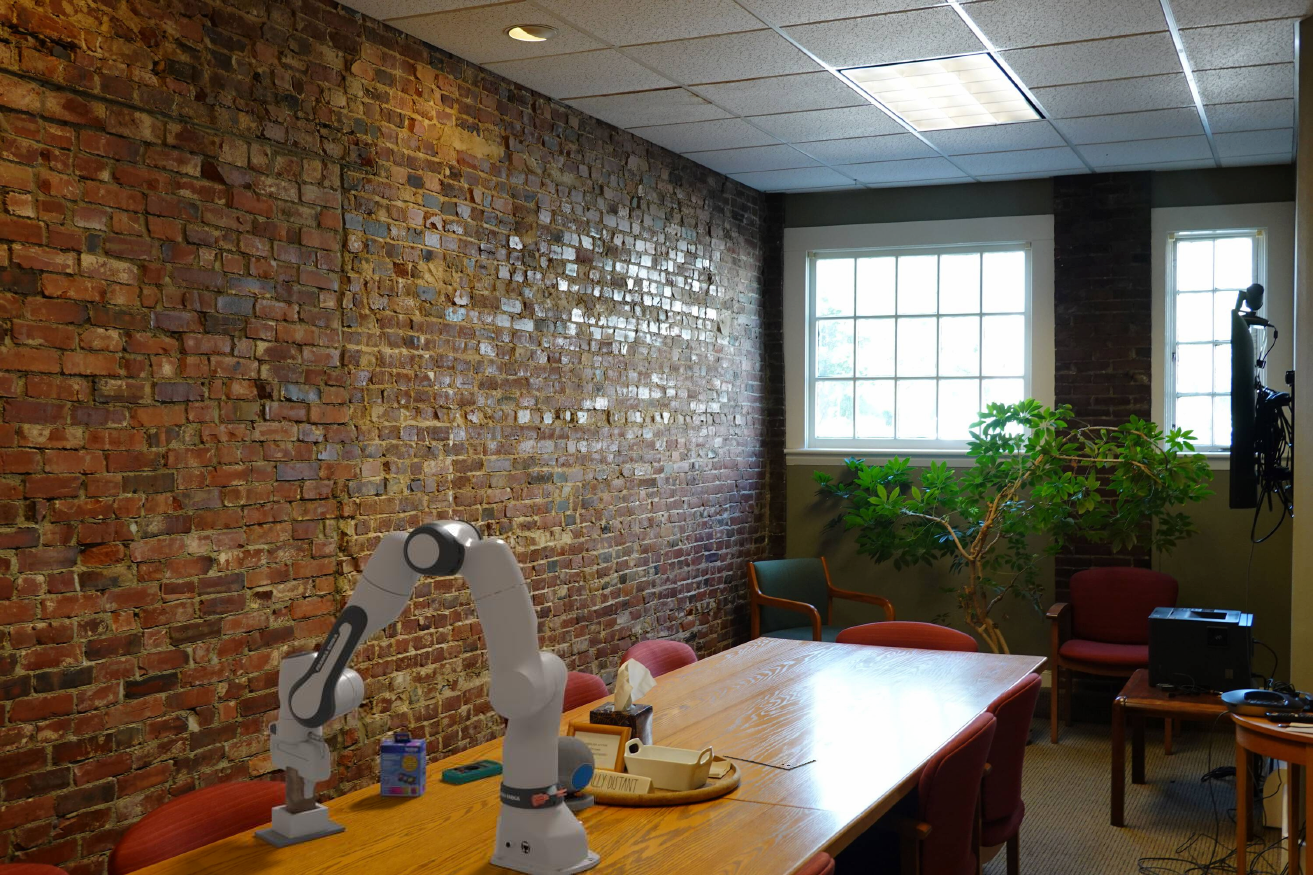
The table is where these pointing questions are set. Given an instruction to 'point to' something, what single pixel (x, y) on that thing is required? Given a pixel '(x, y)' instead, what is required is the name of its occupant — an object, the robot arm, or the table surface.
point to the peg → (297, 793)
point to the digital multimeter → (472, 771)
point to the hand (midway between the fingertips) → (300, 794)
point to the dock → (298, 826)
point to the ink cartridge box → (402, 767)
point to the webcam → (575, 771)
